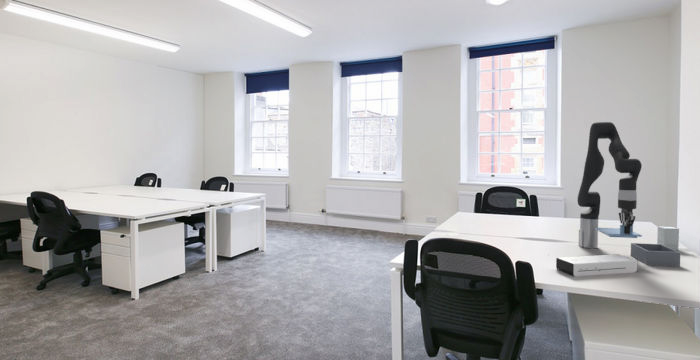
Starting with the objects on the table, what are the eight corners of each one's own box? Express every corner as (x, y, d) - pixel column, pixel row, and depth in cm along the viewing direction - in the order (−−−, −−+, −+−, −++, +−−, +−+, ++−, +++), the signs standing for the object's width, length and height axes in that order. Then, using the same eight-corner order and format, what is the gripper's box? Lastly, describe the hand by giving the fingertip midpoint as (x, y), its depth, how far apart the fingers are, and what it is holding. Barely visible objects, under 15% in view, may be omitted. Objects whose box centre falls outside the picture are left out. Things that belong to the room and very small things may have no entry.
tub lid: (610, 238, 193) (610, 225, 192) (595, 230, 213) (595, 218, 213) (644, 239, 189) (644, 226, 189) (625, 231, 209) (625, 219, 209)
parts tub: (646, 264, 192) (647, 251, 191) (630, 255, 209) (631, 243, 209) (679, 266, 188) (680, 252, 188) (660, 257, 206) (661, 244, 205)
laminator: (572, 277, 175) (573, 264, 175) (554, 269, 187) (554, 257, 187) (637, 272, 181) (637, 259, 180) (615, 265, 193) (615, 253, 192)
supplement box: (678, 250, 219) (679, 228, 218) (663, 250, 221) (664, 228, 220) (670, 247, 226) (671, 226, 225) (656, 247, 228) (657, 226, 227)
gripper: (613, 197, 198) (612, 230, 199) (624, 200, 185) (623, 235, 186) (629, 197, 196) (628, 231, 197) (642, 200, 183) (641, 236, 184)
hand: (626, 233), depth 192 cm, fingers closed on tub lid, 1 cm apart
